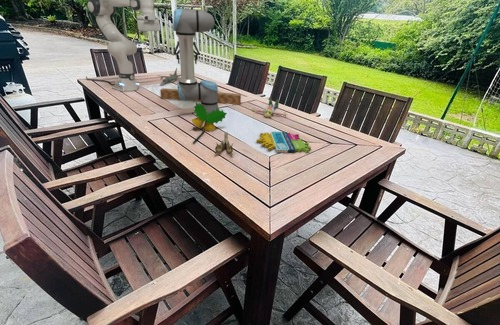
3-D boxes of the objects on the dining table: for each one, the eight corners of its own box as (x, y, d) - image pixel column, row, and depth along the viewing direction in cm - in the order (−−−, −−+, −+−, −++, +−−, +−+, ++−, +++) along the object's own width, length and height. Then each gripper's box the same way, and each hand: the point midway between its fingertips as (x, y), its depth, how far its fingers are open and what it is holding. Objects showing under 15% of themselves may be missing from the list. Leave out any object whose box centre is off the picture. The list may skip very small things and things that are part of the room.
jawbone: (234, 135, 144) (233, 125, 135) (233, 160, 138) (232, 151, 129) (217, 135, 144) (216, 125, 135) (216, 160, 138) (214, 150, 129)
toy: (291, 100, 208) (287, 111, 182) (290, 109, 211) (286, 120, 185) (257, 96, 213) (248, 105, 187) (256, 105, 216) (248, 115, 190)
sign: (313, 150, 142) (258, 149, 139) (312, 153, 143) (258, 152, 140) (301, 132, 164) (254, 130, 161) (301, 134, 165) (254, 133, 162)
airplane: (151, 78, 274) (150, 68, 269) (181, 76, 288) (180, 67, 282) (158, 87, 246) (157, 77, 241) (191, 85, 259) (191, 75, 254)
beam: (240, 102, 218) (240, 94, 214) (240, 104, 213) (240, 95, 209) (163, 97, 218) (162, 88, 215) (161, 98, 214) (160, 89, 210)
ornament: (218, 133, 171) (224, 110, 169) (221, 134, 163) (227, 111, 161) (186, 125, 162) (192, 101, 160) (189, 126, 155) (195, 101, 153)
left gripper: (154, 17, 202) (156, 37, 209) (134, 16, 185) (137, 38, 192) (161, 17, 200) (163, 37, 207) (141, 17, 183) (144, 38, 190)
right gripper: (201, 35, 208) (201, 63, 218) (168, 33, 199) (170, 62, 210) (203, 35, 202) (203, 64, 212) (169, 34, 193) (172, 64, 204)
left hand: (150, 37), depth 199 cm, fingers open, 8 cm apart
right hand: (187, 63), depth 211 cm, fingers open, 13 cm apart
